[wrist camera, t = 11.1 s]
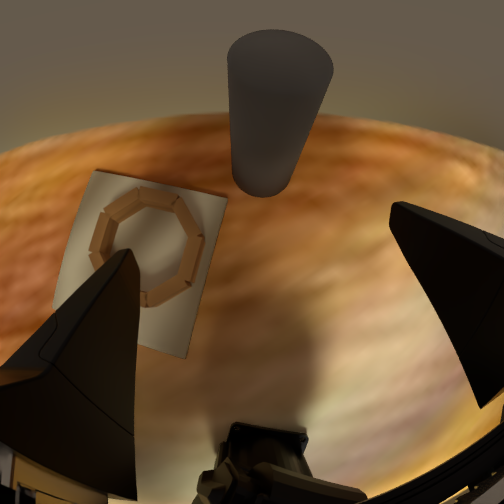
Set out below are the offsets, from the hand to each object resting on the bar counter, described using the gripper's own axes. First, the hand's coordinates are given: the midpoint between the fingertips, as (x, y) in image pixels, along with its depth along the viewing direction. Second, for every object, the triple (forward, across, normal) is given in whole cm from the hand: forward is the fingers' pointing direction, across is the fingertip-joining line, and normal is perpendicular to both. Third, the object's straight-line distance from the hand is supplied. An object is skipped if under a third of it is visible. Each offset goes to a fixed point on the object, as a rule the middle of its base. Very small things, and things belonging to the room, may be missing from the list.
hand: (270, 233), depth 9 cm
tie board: (+12, +10, +8) cm, 17 cm away
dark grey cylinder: (+16, -2, +4) cm, 16 cm away
